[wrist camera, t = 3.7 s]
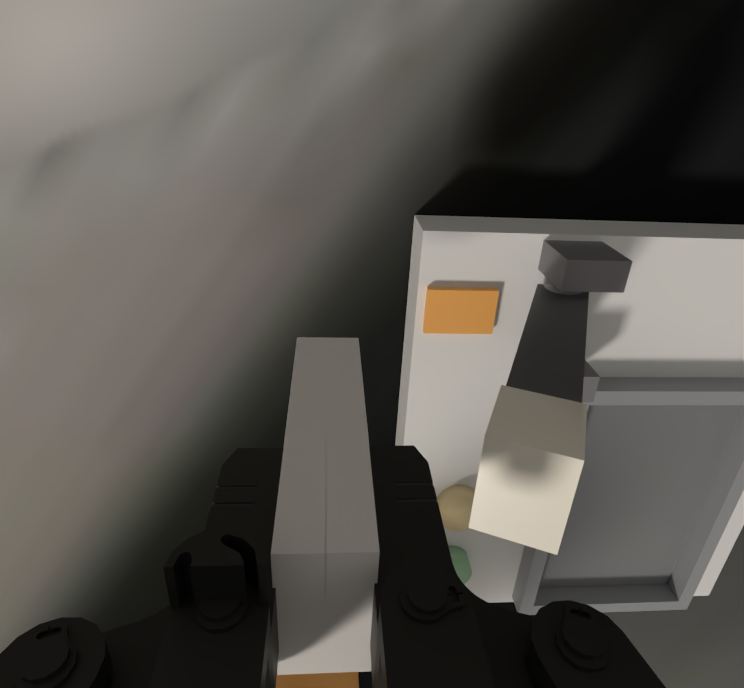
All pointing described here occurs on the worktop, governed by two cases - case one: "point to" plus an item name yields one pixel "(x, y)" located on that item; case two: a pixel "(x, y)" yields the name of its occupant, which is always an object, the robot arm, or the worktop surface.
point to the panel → (588, 399)
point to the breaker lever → (537, 428)
